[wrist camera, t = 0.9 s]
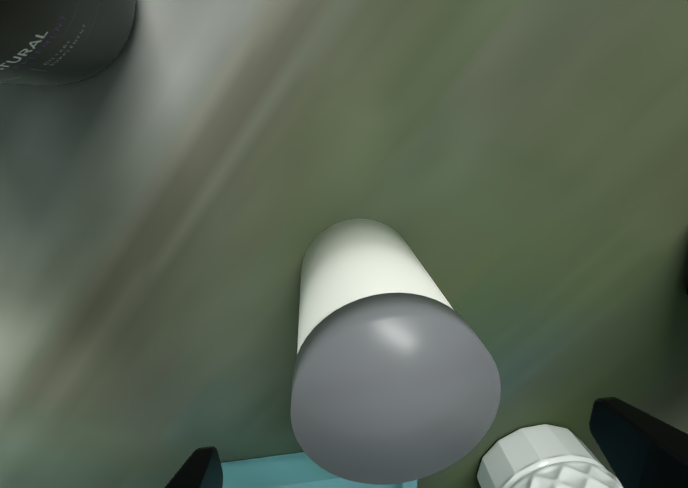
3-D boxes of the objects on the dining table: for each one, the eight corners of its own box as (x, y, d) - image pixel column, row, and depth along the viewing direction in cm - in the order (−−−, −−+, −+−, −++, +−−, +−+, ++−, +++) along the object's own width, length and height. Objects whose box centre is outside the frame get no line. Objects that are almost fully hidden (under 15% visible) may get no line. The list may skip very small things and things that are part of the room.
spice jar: (414, 211, 16) (510, 305, 9) (415, 316, 18) (492, 470, 10) (292, 222, 16) (276, 331, 8) (305, 328, 18) (303, 496, 10)
